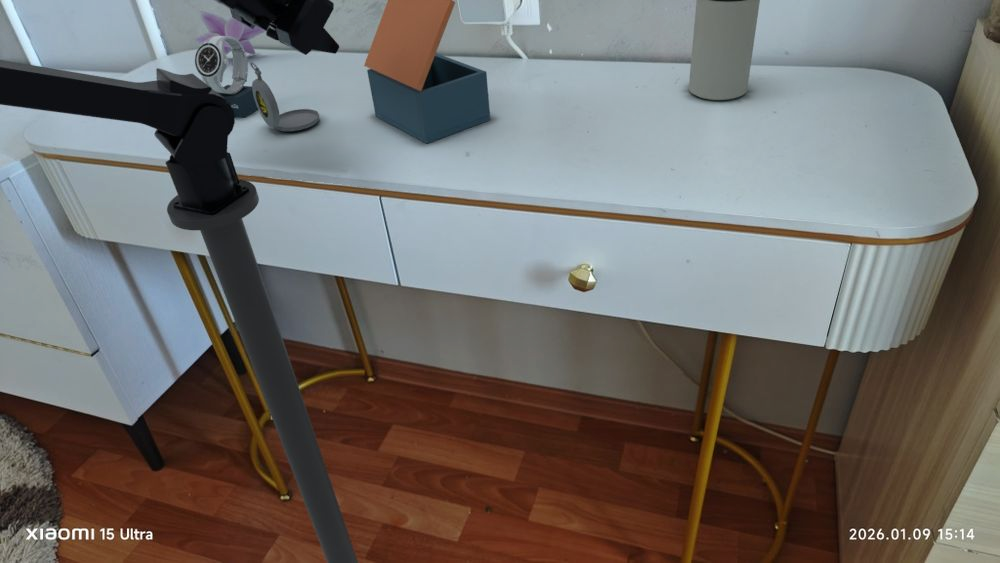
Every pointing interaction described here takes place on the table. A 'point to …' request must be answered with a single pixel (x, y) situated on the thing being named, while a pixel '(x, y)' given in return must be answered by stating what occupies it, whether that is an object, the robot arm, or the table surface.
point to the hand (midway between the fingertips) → (336, 49)
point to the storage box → (433, 100)
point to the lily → (228, 31)
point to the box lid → (409, 39)
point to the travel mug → (722, 48)
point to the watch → (214, 64)
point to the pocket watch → (271, 113)
